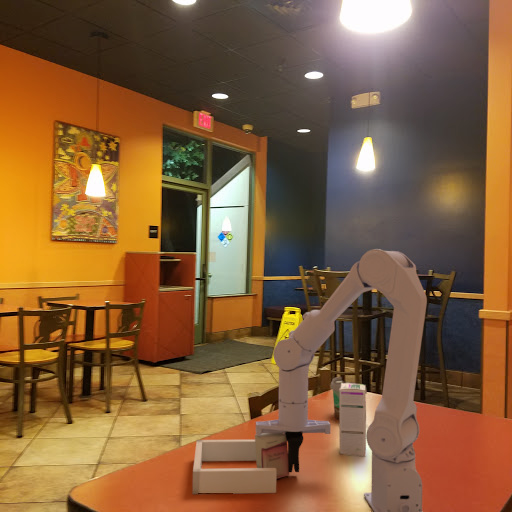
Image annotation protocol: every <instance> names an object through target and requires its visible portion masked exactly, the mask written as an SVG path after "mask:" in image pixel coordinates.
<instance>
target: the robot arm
mask: <svg viewBox="0 0 512 512" xmlns="http://www.w3.org/2000/svg"><path fill="white" fill-rule="evenodd" d="M373 290H376V291H378V292H380V293H381V294H382V295H383V296H384V297H385V298H386V300H387V301H388V302H389V303H390V304H391V306H393V313H392V321H391V328H390V335H389V340H388V341H389V342H388V351H387V358H386V363H385V364H386V365H385V373H384V378H383V379H384V380H383V387H382V394H381V398H380V401H379V402H378V404H377V407H376V409H375V411H374V418H373V420H372V422H371V423H370V425H369V426H368V428H367V429H366V444H367V445H368V447H369V449H370V450H371V486H370V488H371V489H370V490H371V492H364V493H363V497H364V498H365V500H366V501H367V503H368V505H369V507H371V509H372V511H373V512H424V511H423V481H422V477H421V475H420V473H419V472H418V471H417V468H416V452H415V448H414V447H415V446H414V443H415V442H416V441H417V439H418V438H419V435H420V424H419V422H418V419H417V410H418V406H417V404H416V403H415V401H414V398H415V389H416V382H417V375H418V368H419V361H420V354H421V347H422V338H423V333H424V325H425V317H426V311H427V310H426V309H427V304H428V302H427V301H428V299H427V295H426V293H425V289H424V287H423V286H422V283H421V281H420V278H419V276H418V274H417V265H416V264H415V263H414V261H412V260H411V259H410V258H409V257H408V256H407V255H405V254H404V253H403V252H401V251H397V250H396V251H395V250H390V251H389V250H383V249H380V248H379V249H378V248H375V249H370V250H368V251H366V252H365V253H364V254H363V255H362V256H361V257H360V260H359V261H357V262H355V263H354V264H353V265H352V266H351V268H350V270H349V272H348V273H347V275H346V277H344V279H343V280H342V281H341V282H340V284H339V285H338V286H337V288H336V289H335V291H334V292H333V293H332V294H331V296H330V297H329V299H327V301H326V302H325V303H324V304H323V306H322V307H321V308H320V309H311V310H310V311H307V312H304V314H303V315H302V319H303V320H301V321H300V323H299V325H297V327H296V328H295V329H294V330H291V331H289V333H288V339H287V338H285V339H281V340H279V341H278V342H277V343H276V345H275V346H274V350H273V360H274V362H275V364H276V365H277V367H278V419H273V420H265V421H262V420H261V421H255V435H261V434H262V433H283V434H285V435H286V439H287V450H288V465H289V466H288V472H289V473H293V470H294V473H300V457H299V456H300V448H301V446H302V444H303V443H304V442H303V441H304V435H303V434H319V433H320V434H325V435H331V431H332V430H331V423H330V422H329V420H314V419H309V414H308V413H309V410H308V409H309V371H310V365H311V364H312V363H313V361H314V358H315V353H316V352H317V351H318V350H319V349H320V348H321V346H322V345H323V344H324V343H325V342H326V341H327V340H328V339H329V337H330V336H331V335H332V334H334V332H335V329H336V327H335V321H336V320H337V319H338V318H339V317H340V316H341V315H342V314H343V313H344V312H346V310H347V309H348V308H349V307H350V306H351V305H352V303H354V302H355V301H356V300H357V298H359V297H360V295H362V294H363V293H365V292H369V291H373Z"/></svg>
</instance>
